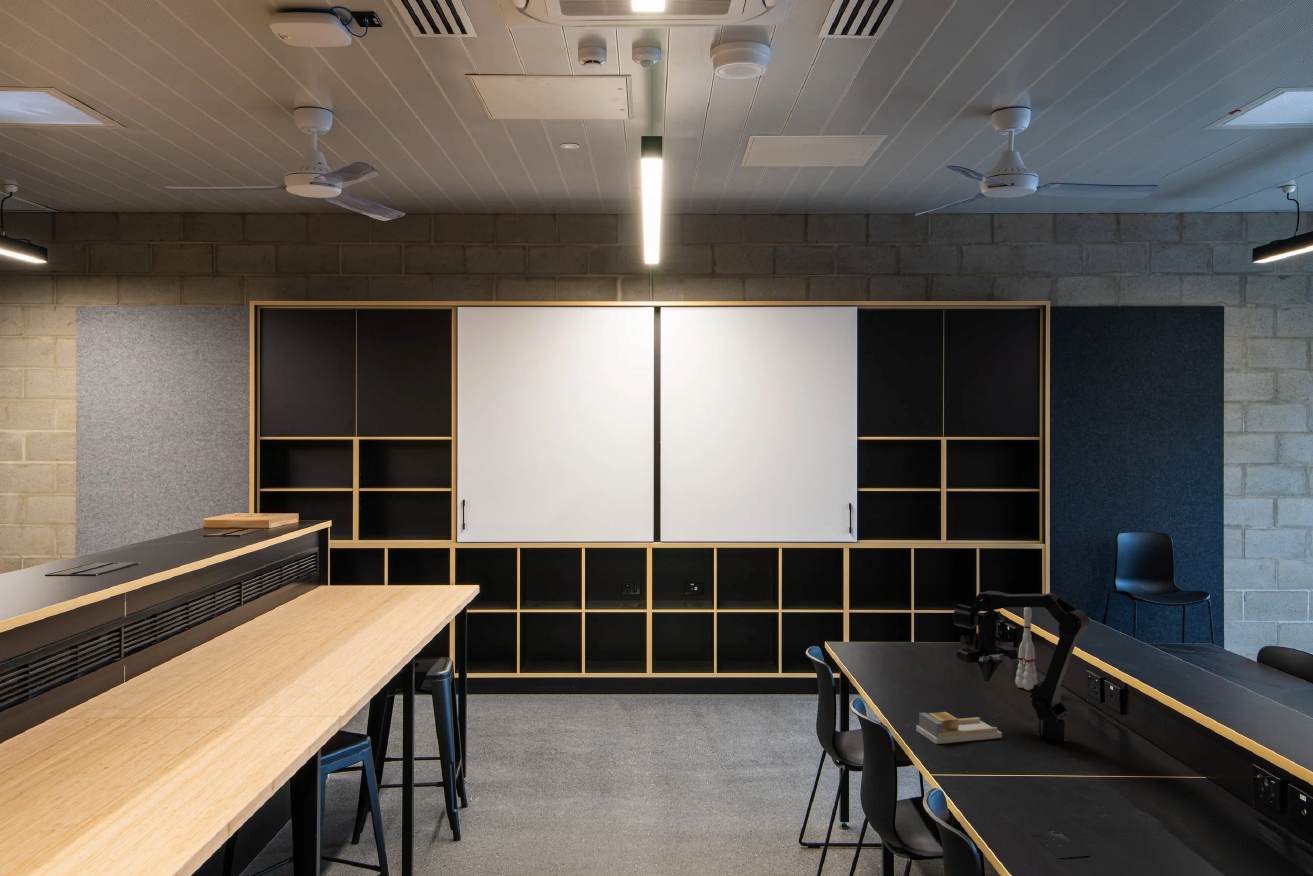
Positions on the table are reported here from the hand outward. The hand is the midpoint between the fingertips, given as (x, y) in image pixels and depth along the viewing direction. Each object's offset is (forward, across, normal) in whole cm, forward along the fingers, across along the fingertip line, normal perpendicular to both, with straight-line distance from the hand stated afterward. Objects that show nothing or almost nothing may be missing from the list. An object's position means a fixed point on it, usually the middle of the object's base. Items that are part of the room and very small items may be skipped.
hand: (986, 681), depth 237 cm
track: (+12, +16, +8) cm, 22 cm away
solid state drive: (+13, +35, +66) cm, 76 cm away
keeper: (+10, +22, +8) cm, 25 cm away
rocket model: (+12, -35, -21) cm, 43 cm away
